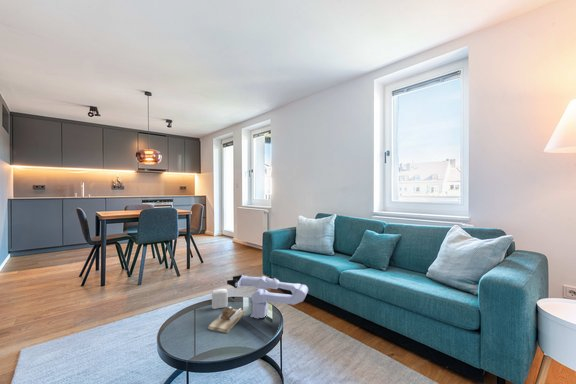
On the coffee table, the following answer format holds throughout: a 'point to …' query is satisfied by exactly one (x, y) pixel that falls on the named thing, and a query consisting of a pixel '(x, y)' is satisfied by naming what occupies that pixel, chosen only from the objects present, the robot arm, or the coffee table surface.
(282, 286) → the robot arm
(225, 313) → the walnut block
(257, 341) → the coffee table surface
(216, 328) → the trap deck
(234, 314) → the channel
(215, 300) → the photo printer
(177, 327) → the coffee table surface
